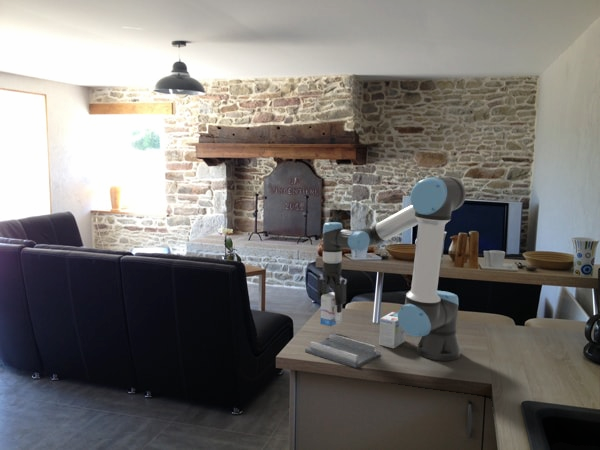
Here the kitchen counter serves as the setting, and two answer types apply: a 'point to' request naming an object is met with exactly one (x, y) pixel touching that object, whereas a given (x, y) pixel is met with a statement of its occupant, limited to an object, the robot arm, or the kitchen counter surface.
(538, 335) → the kitchen counter surface
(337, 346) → the rail board
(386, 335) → the light bulb box
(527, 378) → the kitchen counter surface
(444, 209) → the robot arm
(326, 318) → the ink box
